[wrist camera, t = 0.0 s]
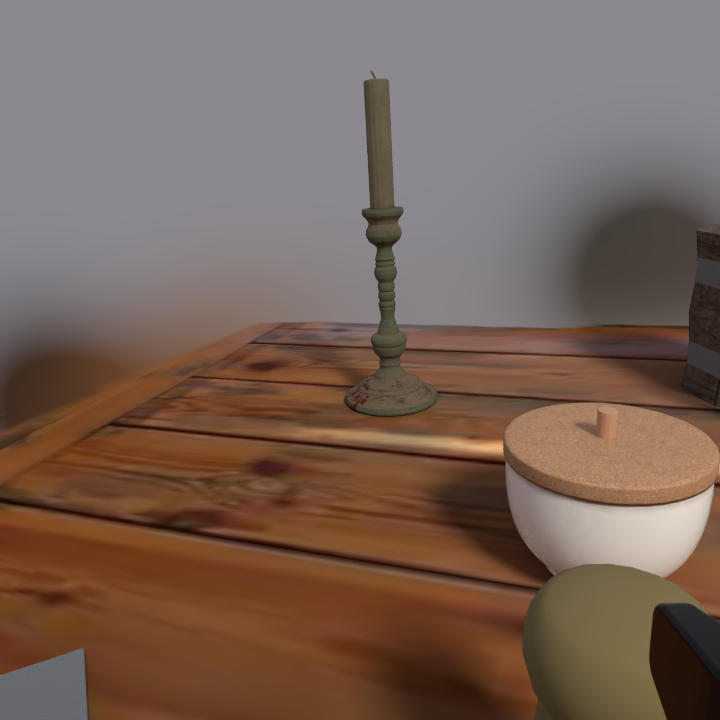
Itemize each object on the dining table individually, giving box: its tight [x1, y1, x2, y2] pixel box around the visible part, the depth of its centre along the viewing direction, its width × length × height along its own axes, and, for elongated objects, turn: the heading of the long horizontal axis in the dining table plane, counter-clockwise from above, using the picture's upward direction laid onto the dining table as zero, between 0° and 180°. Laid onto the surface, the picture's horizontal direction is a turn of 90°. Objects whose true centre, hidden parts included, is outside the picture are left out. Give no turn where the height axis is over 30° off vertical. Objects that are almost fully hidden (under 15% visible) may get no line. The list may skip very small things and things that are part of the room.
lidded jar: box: [503, 403, 720, 578], centre depth 34 cm, size 11×11×9 cm
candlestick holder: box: [346, 71, 438, 416], centre depth 58 cm, size 9×9×30 cm
